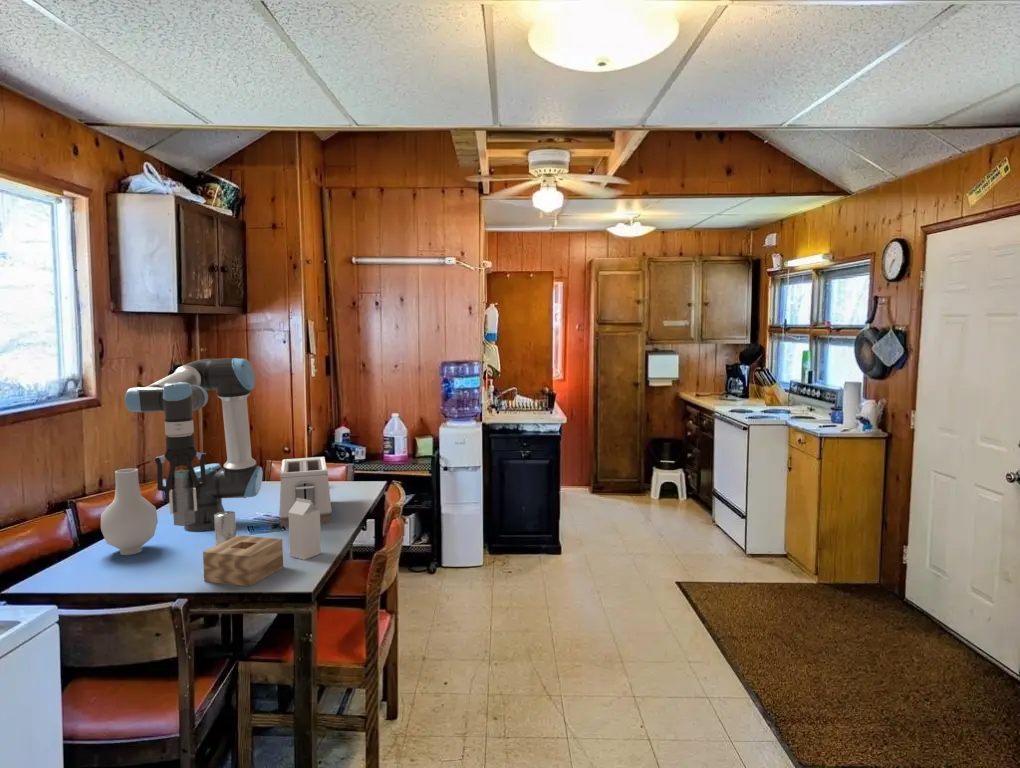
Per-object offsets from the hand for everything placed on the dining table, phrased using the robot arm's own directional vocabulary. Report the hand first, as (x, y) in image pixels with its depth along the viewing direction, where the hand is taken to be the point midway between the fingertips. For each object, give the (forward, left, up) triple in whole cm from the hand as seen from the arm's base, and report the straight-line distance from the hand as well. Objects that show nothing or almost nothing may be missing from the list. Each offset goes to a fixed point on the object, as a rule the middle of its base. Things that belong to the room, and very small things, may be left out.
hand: (183, 511), depth 192 cm
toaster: (-2, +68, -21) cm, 71 cm away
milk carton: (+24, +26, -21) cm, 41 cm away
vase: (-36, +15, -21) cm, 44 cm away
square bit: (0, 0, -4) cm, 4 cm away
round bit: (-2, +20, -21) cm, 29 cm away
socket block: (+15, +7, -21) cm, 26 cm away
